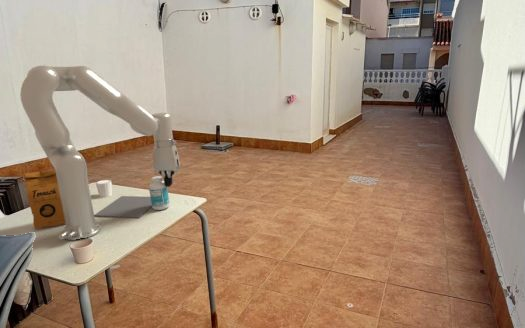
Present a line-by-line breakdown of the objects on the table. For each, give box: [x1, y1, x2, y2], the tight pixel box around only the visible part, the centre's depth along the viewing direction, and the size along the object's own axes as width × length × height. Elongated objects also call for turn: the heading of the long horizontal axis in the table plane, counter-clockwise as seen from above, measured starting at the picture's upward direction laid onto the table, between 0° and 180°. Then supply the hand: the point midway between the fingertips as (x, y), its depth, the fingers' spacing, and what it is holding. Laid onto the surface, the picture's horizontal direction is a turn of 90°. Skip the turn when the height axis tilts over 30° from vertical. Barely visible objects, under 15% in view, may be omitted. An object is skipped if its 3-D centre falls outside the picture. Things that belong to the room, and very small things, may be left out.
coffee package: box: [23, 169, 66, 230], centre depth 133 cm, size 10×12×22 cm
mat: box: [94, 195, 152, 219], centre depth 151 cm, size 22×20×1 cm
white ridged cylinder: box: [95, 179, 113, 198], centre depth 165 cm, size 7×7×7 cm
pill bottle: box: [148, 175, 171, 211], centre depth 147 cm, size 8×7×14 cm
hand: (168, 185), depth 145 cm, fingers closed
